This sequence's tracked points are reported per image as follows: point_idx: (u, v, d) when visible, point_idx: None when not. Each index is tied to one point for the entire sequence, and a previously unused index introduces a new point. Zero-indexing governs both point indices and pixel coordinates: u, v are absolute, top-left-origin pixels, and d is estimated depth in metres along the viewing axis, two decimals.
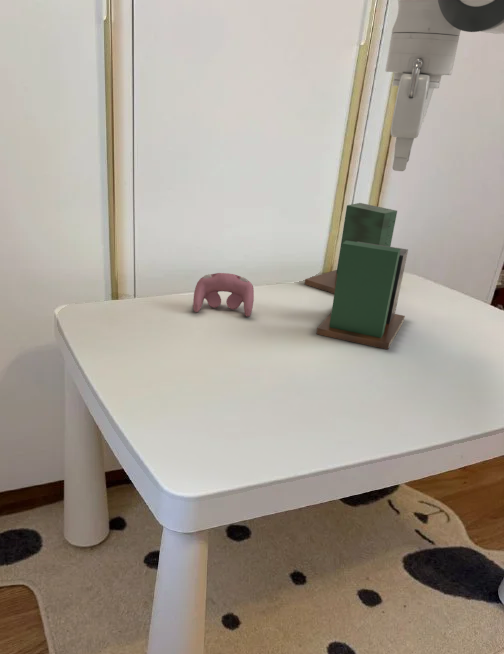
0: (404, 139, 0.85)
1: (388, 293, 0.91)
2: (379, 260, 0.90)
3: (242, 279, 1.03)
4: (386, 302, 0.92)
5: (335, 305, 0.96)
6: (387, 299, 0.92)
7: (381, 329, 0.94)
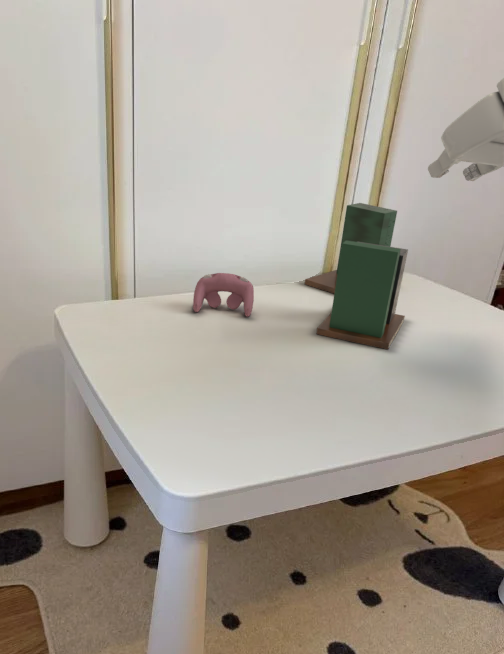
0: None
1: (388, 293, 0.91)
2: (379, 260, 0.90)
3: (242, 279, 1.03)
4: (386, 302, 0.92)
5: (335, 305, 0.96)
6: (387, 299, 0.92)
7: (381, 329, 0.94)
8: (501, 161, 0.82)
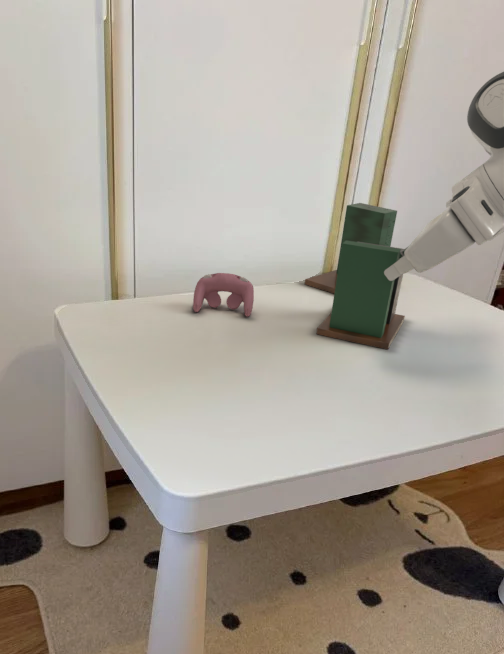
0: None
1: (388, 293, 0.91)
2: (379, 260, 0.90)
3: (242, 279, 1.03)
4: (386, 302, 0.92)
5: (335, 305, 0.96)
6: (387, 299, 0.92)
7: (381, 329, 0.94)
8: None
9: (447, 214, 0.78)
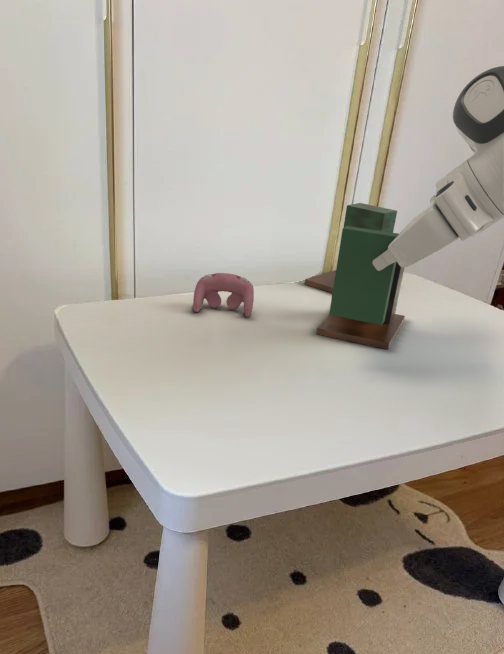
0: None
1: (389, 279, 0.90)
2: (380, 245, 0.89)
3: (242, 279, 1.03)
4: (387, 288, 0.91)
5: (335, 292, 0.94)
6: (388, 285, 0.91)
7: (382, 316, 0.93)
8: None
9: (431, 209, 0.77)
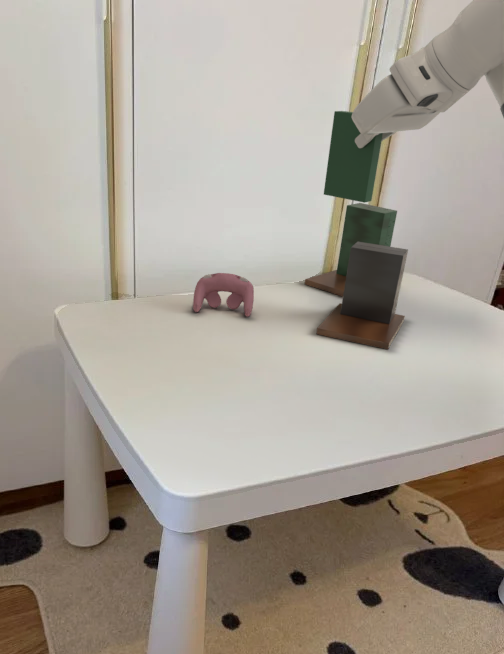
0: None
1: (371, 157, 1.00)
2: None
3: (242, 279, 1.03)
4: (369, 166, 1.01)
5: (328, 172, 1.06)
6: (370, 163, 1.01)
7: (365, 194, 1.03)
8: (404, 127, 0.98)
9: (386, 77, 0.87)
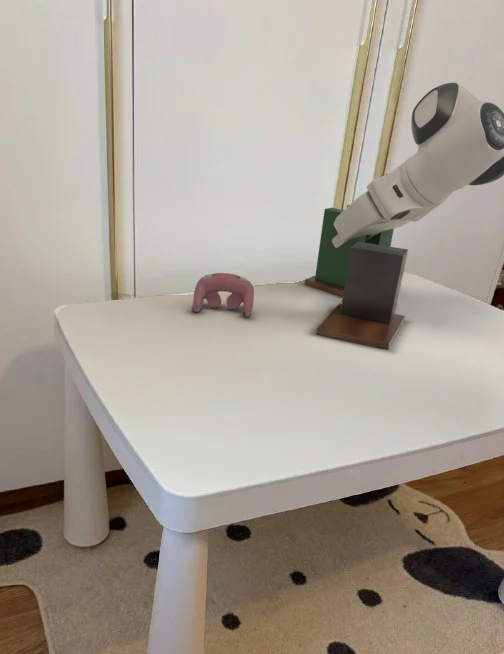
0: None
1: None
2: None
3: (242, 279, 1.03)
4: None
5: (319, 260, 1.17)
6: None
7: None
8: (384, 229, 1.08)
9: (363, 194, 0.98)
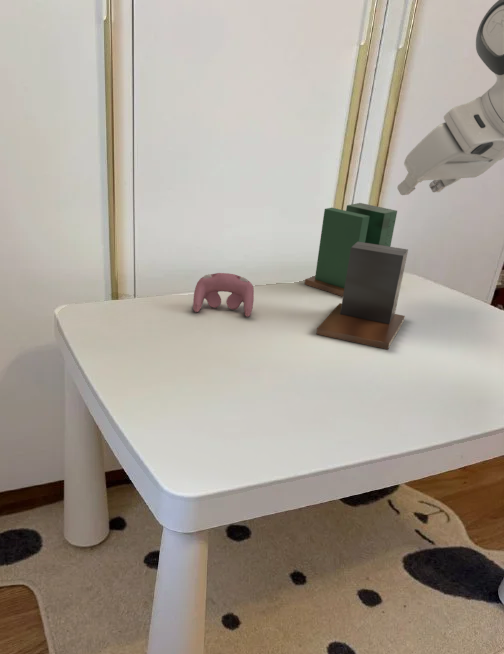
0: None
1: None
2: (350, 224, 1.10)
3: (242, 279, 1.03)
4: None
5: (319, 260, 1.17)
6: None
7: None
8: (459, 175, 0.97)
9: (439, 125, 0.87)
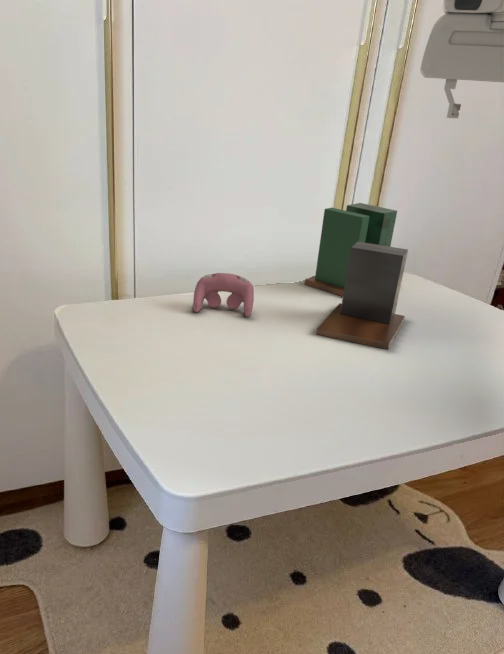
0: None
1: None
2: (350, 224, 1.10)
3: (242, 279, 1.03)
4: None
5: (319, 260, 1.17)
6: None
7: None
8: None
9: None
